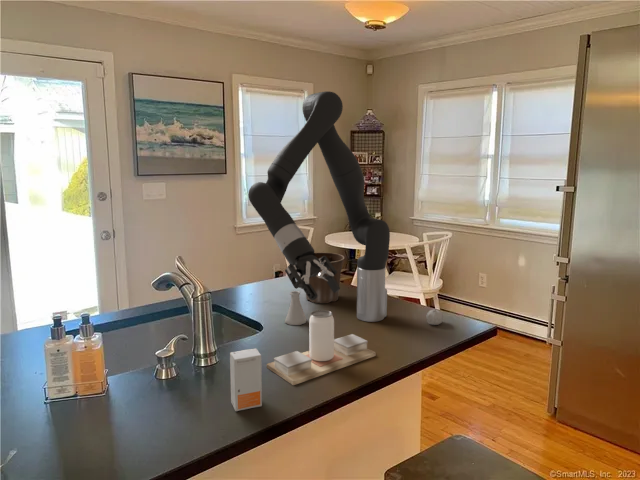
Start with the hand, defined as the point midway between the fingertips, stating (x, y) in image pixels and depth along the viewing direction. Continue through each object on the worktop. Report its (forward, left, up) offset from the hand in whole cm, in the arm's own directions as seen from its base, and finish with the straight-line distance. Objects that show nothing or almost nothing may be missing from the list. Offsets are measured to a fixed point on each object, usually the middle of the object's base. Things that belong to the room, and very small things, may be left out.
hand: (326, 294), depth 122 cm
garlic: (-45, -1, -19) cm, 49 cm away
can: (0, -2, -18) cm, 18 cm away
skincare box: (+27, +6, -19) cm, 33 cm away
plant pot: (-33, -44, -19) cm, 58 cm away
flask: (-11, -30, -19) cm, 37 cm away
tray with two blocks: (0, -1, -19) cm, 19 cm away
